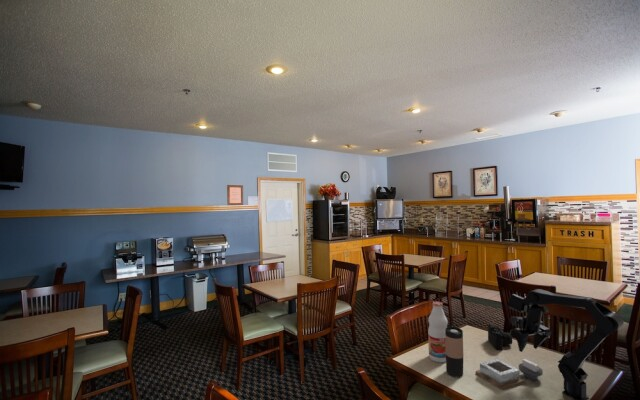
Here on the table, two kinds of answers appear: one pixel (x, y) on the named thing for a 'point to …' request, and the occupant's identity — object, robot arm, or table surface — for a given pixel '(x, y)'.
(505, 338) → the camera
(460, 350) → the travel mug
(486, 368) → the hollow square frame
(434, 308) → the fruit juice
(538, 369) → the grey disc with handle
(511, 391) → the table surface
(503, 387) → the walnut plate
